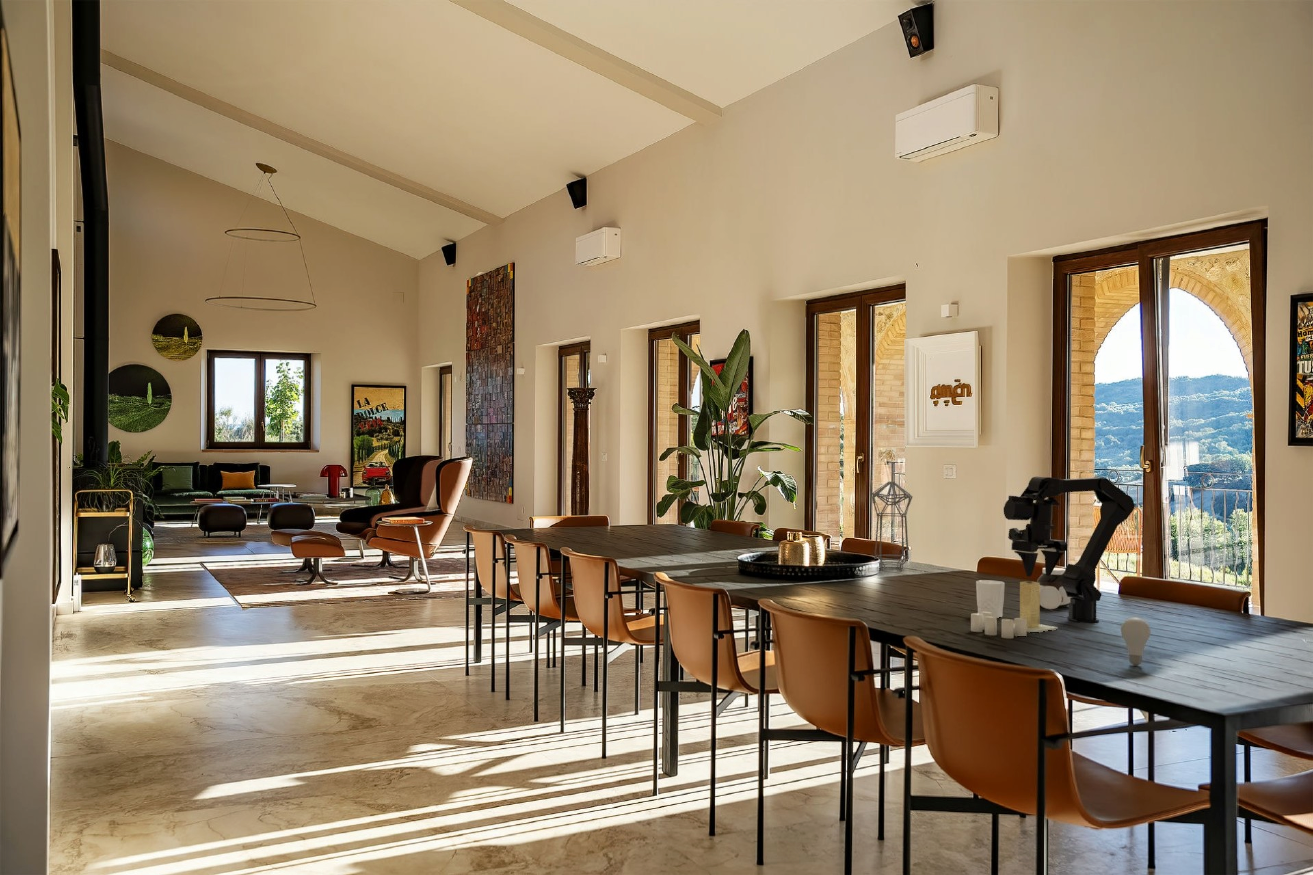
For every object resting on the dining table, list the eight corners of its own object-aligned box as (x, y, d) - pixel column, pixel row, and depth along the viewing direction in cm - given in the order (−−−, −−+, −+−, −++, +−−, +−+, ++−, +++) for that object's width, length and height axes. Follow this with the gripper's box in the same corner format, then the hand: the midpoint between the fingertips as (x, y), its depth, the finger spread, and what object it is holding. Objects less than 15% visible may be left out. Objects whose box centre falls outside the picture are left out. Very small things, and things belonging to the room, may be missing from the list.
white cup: (1006, 619, 290) (1006, 584, 290) (977, 617, 291) (977, 583, 291) (1002, 614, 298) (1002, 580, 298) (974, 613, 299) (974, 579, 299)
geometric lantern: (910, 567, 407) (910, 480, 407) (912, 572, 391) (912, 482, 391) (870, 566, 410) (870, 480, 410) (871, 571, 394) (871, 481, 394)
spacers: (985, 627, 276) (985, 611, 276) (1028, 636, 264) (1028, 619, 264) (965, 630, 272) (965, 613, 272) (1008, 639, 260) (1008, 621, 260)
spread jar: (1064, 604, 317) (1064, 567, 317) (1080, 610, 306) (1081, 572, 306) (1026, 604, 316) (1027, 567, 317) (1041, 610, 305) (1042, 572, 305)
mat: (1026, 623, 282) (1026, 621, 282) (1057, 629, 274) (1057, 627, 274) (1003, 627, 277) (1003, 624, 277) (1033, 633, 269) (1033, 630, 269)
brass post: (1028, 624, 278) (1028, 581, 278) (1039, 626, 275) (1039, 582, 275) (1019, 625, 276) (1019, 582, 276) (1030, 627, 273) (1031, 583, 273)
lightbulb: (1115, 662, 233) (1115, 615, 233) (1140, 662, 233) (1140, 615, 233) (1130, 668, 227) (1130, 620, 227) (1155, 668, 227) (1156, 619, 227)
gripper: (1034, 518, 297) (1032, 571, 297) (996, 518, 286) (993, 573, 286) (1069, 521, 288) (1067, 576, 288) (1031, 522, 277) (1028, 578, 277)
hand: (1038, 576), depth 285 cm, fingers open, 9 cm apart
